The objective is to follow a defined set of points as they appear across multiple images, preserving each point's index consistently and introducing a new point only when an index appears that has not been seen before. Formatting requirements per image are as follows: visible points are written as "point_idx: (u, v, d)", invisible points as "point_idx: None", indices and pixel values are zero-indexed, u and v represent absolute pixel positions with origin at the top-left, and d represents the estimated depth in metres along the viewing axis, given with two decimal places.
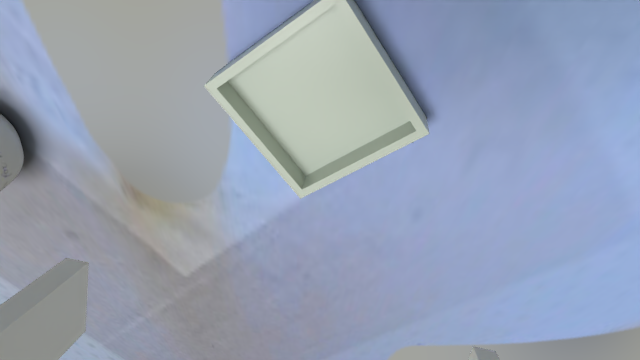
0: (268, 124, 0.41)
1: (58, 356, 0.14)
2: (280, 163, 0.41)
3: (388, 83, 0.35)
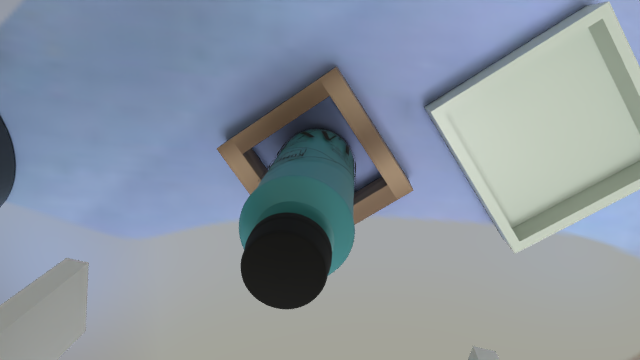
0: (569, 192, 0.36)
1: (58, 355, 0.14)
2: (625, 185, 0.34)
3: (535, 57, 0.31)
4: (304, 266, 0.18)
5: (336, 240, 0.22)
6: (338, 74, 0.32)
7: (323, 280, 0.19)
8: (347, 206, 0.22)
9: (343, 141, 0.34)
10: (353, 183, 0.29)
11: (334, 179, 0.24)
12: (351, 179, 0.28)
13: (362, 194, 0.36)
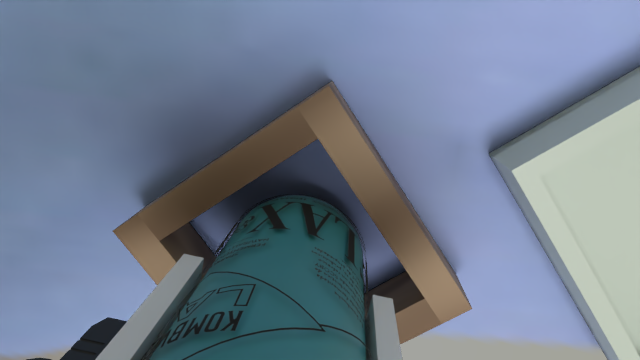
0: None
1: None
2: None
3: None
4: None
5: None
6: (334, 98, 0.17)
7: None
8: None
9: (344, 219, 0.19)
10: (364, 343, 0.13)
11: None
12: (360, 345, 0.12)
13: None
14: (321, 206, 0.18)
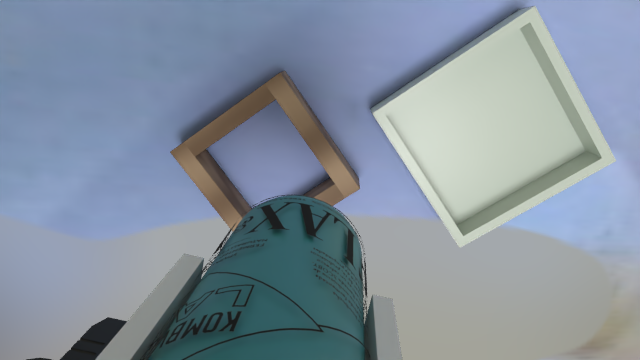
0: (512, 188, 0.38)
1: None
2: (560, 180, 0.35)
3: (468, 59, 0.33)
4: None
5: None
6: (282, 79, 0.34)
7: None
8: None
9: (343, 219, 0.19)
10: (363, 343, 0.13)
11: None
12: (359, 345, 0.12)
13: (313, 193, 0.38)
14: (320, 206, 0.18)
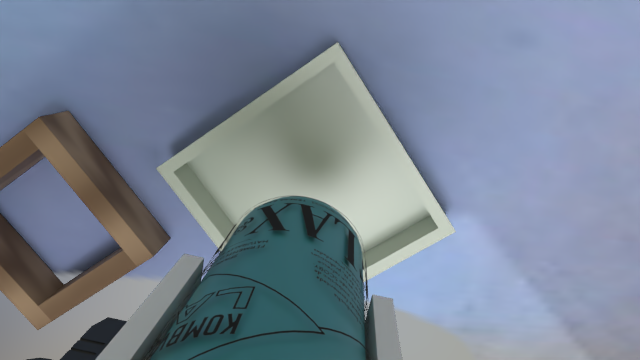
0: None
1: None
2: (392, 253, 0.29)
3: (264, 106, 0.26)
4: None
5: None
6: (43, 124, 0.27)
7: None
8: None
9: (343, 220, 0.19)
10: (364, 345, 0.13)
11: None
12: (360, 347, 0.12)
13: (108, 257, 0.31)
14: (320, 207, 0.18)
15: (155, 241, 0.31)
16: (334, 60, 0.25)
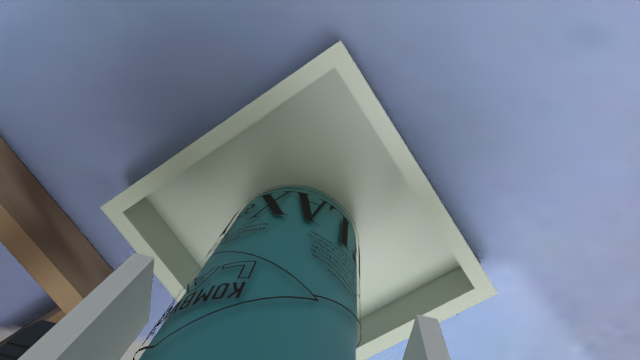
0: None
1: (128, 343, 0.15)
2: (412, 318, 0.22)
3: (240, 127, 0.19)
4: None
5: None
6: None
7: None
8: None
9: (338, 208, 0.20)
10: (355, 316, 0.15)
11: None
12: (351, 317, 0.14)
13: (48, 314, 0.25)
14: (317, 195, 0.20)
15: None
16: (336, 65, 0.18)
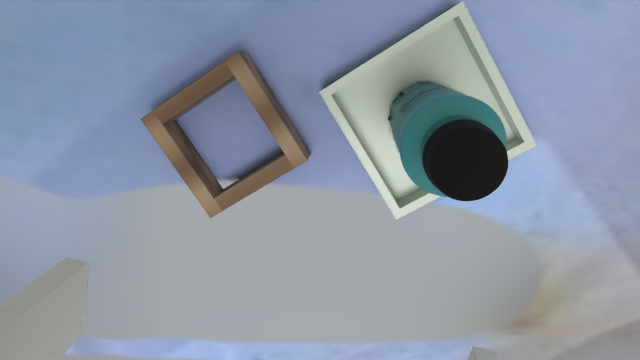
0: None
1: (57, 356, 0.14)
2: None
3: (404, 47, 0.37)
4: (490, 159, 0.21)
5: None
6: (240, 57, 0.38)
7: (504, 174, 0.21)
8: None
9: None
10: None
11: None
12: None
13: (267, 164, 0.42)
14: None
15: (305, 151, 0.41)
16: (459, 14, 0.35)
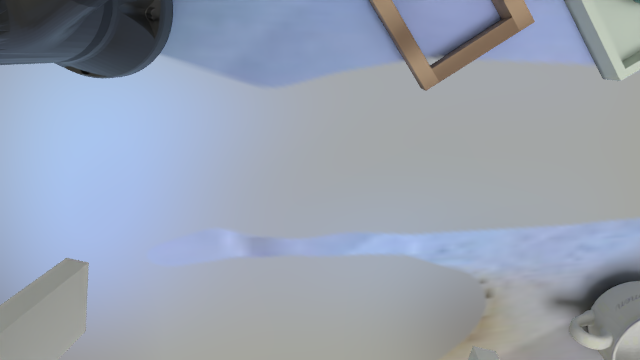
0: None
1: (57, 356, 0.14)
2: None
3: None
4: None
5: None
6: None
7: None
8: None
9: None
10: None
11: None
12: None
13: (485, 32, 0.42)
14: None
15: None
16: None
